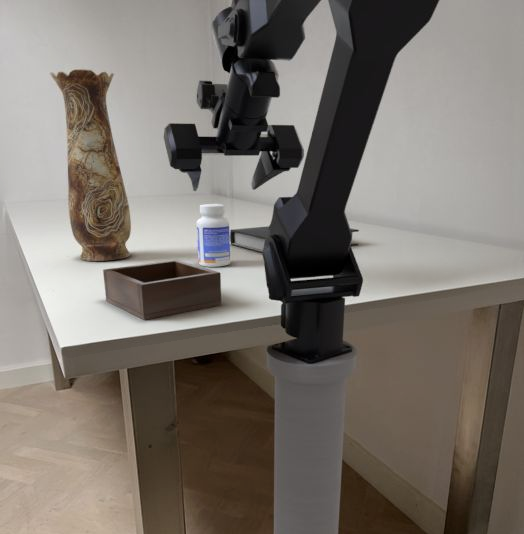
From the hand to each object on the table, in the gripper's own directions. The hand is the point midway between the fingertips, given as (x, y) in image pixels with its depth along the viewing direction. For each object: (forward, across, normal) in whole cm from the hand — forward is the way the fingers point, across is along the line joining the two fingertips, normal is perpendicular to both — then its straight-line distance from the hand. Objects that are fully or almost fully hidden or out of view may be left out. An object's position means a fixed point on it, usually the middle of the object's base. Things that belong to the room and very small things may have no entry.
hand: (224, 187), depth 83 cm
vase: (+24, +17, -5) cm, 29 cm away
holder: (-2, +13, +20) cm, 24 cm away
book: (+24, -21, -6) cm, 32 cm away
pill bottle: (+14, 0, +4) cm, 15 cm away
